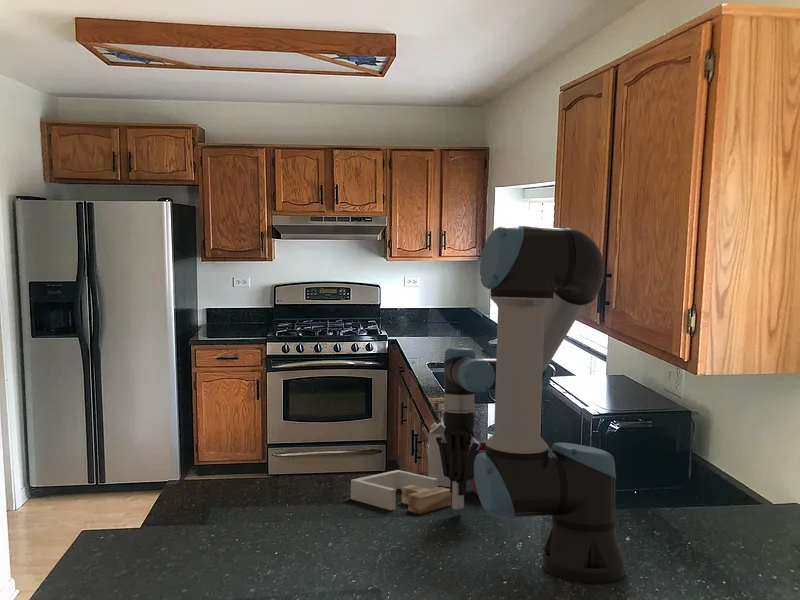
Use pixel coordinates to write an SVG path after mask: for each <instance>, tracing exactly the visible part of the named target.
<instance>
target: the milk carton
mask: <svg viewBox="0 0 800 600" xmlns="http://www.w3.org/2000/svg"><path fill="white" fill-rule="evenodd" d="M429 428H430V430H429V433H428V448H427V449H428V452H427V453H428V462H427V463H428V464H427V465H428V466H427V469H428V471H427V476H428V477H432V478H437V479H438V486H442V487H443V488H450V479H449V478H448V477H445V476H444V474H443V468H442V462H441V456H440V450H439V445H438V443H437V441H436V437H439V436H442V435H443V434H444V430H445V426H444V420H443V417H441V419H440V422H439V423H438V424H437V422H434V423H432V424H431V425H430V426H429Z"/></svg>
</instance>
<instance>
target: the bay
mask: <svg viewBox="0 0 800 600" xmlns="http://www.w3.org/2000/svg"><path fill="white" fill-rule="evenodd" d="M409 485H415V486H419V487H423V488H427V489H432V488H436V487H438V479H437V478H432V477H428V475H424V474H423V475H422V474H418V473H414V472H409V471H404V470H401V469H396V470H395V469H394V470H392V471H387V472H382V473H378V474H377V473H376V474H372V475H368V476H363V477H358V478H354V479H351V480H350V500H354V501H355V502H356V501H357V502H360V503H365V504H367V505H371V506H375V507H377V508H381V509H385V510H389V511H395V510H396V494H397V492H396V491H398V490H397V489H401V490H400V491H402V487H405V486H409Z"/></svg>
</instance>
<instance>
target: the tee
mask: <svg viewBox="0 0 800 600" xmlns="http://www.w3.org/2000/svg"><path fill="white" fill-rule="evenodd" d="M401 503H402V504H404V505H407V506H408V508H407V509H408V510H407V511H408V512H412V513H414V514H418V515H422V514H425V513H428V512H432V511H435V510H439V509H442V508H445V507H446V508H447V507H449V506H452V493H451V492H450V488H448V487H436V488H432V489H427V488H423V487H419V486H415V485H409V486H405V487H402V490H401Z"/></svg>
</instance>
